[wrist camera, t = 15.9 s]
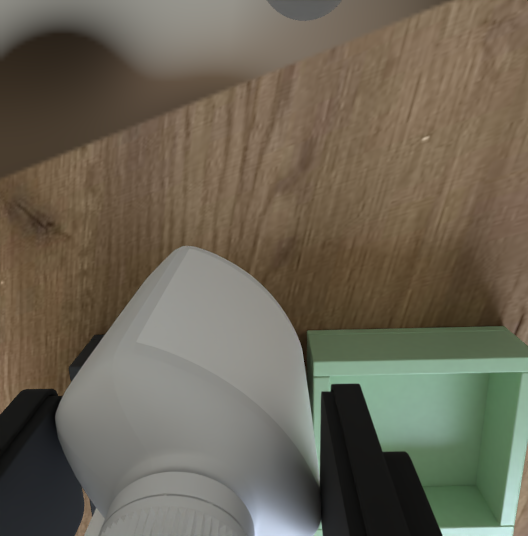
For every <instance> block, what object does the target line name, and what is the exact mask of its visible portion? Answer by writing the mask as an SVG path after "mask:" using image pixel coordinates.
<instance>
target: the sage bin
mask: <svg viewBox="0 0 528 536" xmlns="http://www.w3.org/2000/svg"><path fill="white" fill-rule="evenodd" d="M332 384H360V386H361V389H362V392H363V395H364V398H365V401H366V404H367V407H368V410H369V413H370V416H371V419H372V422H373V425H374V427H375V430H376V433H377V436H378V439H379V442H380V445H381V448H382V451H383V452H395V451H405V452H407V453H408V454H409V456H410V458H411V460H412V462H413V465H414V467H415V470H416V472H417V475H418V477H419V479H420V482H421V484H422V487H423V489H424V492H425V494H426V496H427V499H428V501H429V504H430V506H431V509H432V511H433V513H434V516H435V518H436V521H437V523H438V526H439V528H440V530H441V533H442V535H443V536H513V531H514V525H515V518H516V512H517V506H518V499H519V493H520V487H521V480H522V474H523V467H524V461H525V455H526V448H527V442H528V346H527V345H526V344H525V343H524V342H522V341H521V340H520V339H519V338H518V337H516V336H515V335H514V334H513V333H512V332H510V331H509V330H508V329H507V328H506V327H504V326H487V327H442V328H397V329H353V330H308V331H307V386H308V393H309V400H310V407H311V415H312V422H313V429H314V437H315V444H316V452H317V459H318V468H319V477H320V425H321V392H322V391H331V385H332ZM314 536H323V533H322V525H321V522H320V525H319V528H318V529H317V531H316V533H315V534H314Z"/></svg>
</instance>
